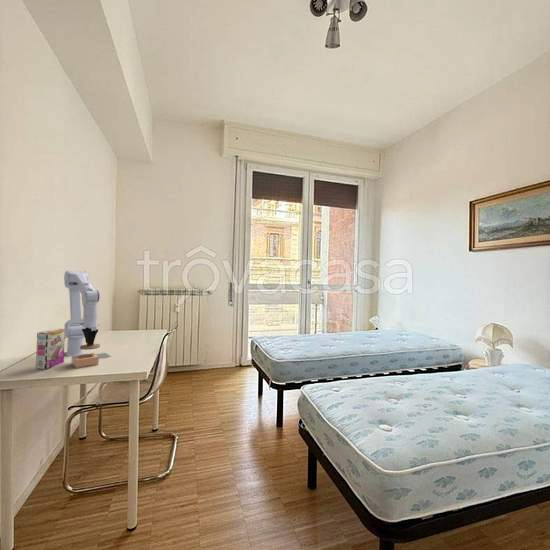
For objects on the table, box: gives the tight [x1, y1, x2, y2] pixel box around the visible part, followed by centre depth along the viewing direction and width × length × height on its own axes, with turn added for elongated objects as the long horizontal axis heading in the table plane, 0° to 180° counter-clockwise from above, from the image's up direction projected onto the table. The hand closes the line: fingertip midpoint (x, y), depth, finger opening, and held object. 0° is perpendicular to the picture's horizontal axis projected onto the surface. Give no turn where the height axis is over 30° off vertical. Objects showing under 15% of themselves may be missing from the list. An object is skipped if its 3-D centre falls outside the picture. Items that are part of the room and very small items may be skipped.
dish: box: [71, 352, 100, 369], centre depth 140 cm, size 9×9×4 cm
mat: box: [96, 352, 112, 360], centre depth 154 cm, size 10×10×1 cm
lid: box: [80, 342, 101, 351], centre depth 145 cm, size 8×8×4 cm
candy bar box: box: [35, 328, 66, 370], centre depth 138 cm, size 11×5×16 cm, turn 178°
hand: (89, 343), depth 145 cm, fingers closed on lid, 3 cm apart
